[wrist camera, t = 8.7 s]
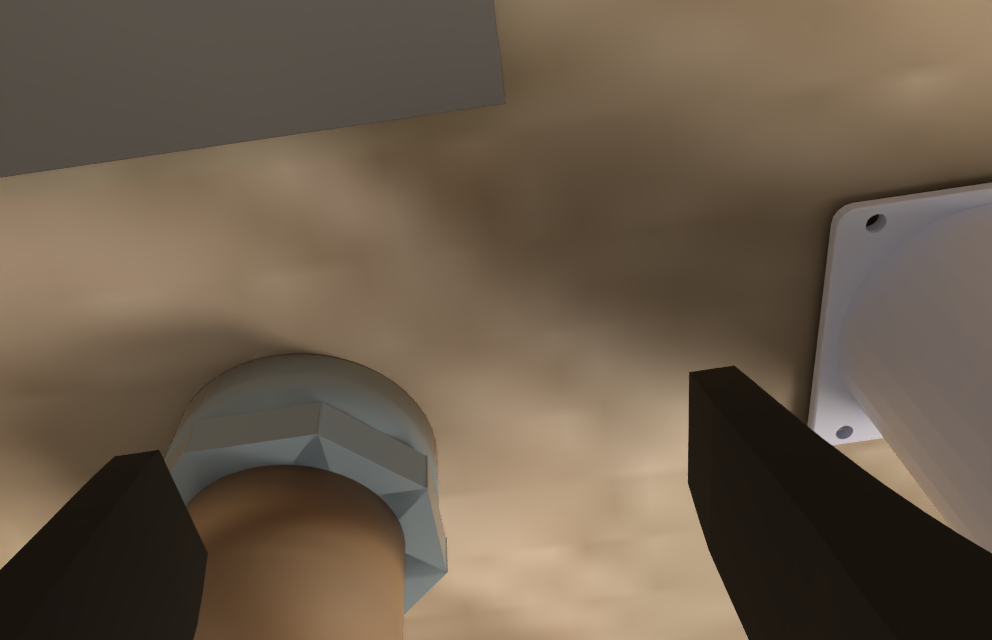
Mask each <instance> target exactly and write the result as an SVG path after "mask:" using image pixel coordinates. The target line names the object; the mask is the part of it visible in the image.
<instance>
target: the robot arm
mask: <svg viewBox="0 0 992 640" xmlns="http://www.w3.org/2000/svg"><path fill="white" fill-rule="evenodd" d="M876 214H879V217H878V219H877V221H876V222H875V223H874V224H872V225H870V226H866V223H867V221H868V219H870V218H871V217H872V216H874V215H876ZM843 426H846V427H844V428H843V429H841V430H839V431H837V430H838V429H840V428H841V427H843ZM879 438H884V439H885V440H886V441H887V443H888V444H889V445H890V447H891V448H892V449H893V451H894V452H895V453H896V455H897V456H898V457H899V459H900V460H901V462H902V463H903V464H904V466H905V467H906V468H907V470H908V471H909V472H910V474H911V475H912V476H913V478H914V479H915V480H916V482H917V483H918V484H919V486H920V487H921V488H922V490H923V491H924V492H925V494H926V495H927V496H928V498H929V499H930V500H931V502H932V503H933V504H934V506H935V507H936V508H937V510H938V511H939V512H940V514H941V515H942V516H943V518H944V519H945V520H946V522H947V523H948V524H949V526H950V527H951V528H952V529H950V528H949V527H947V526H946V525H944V524H942V523H941V522H939V521H938V520H936V519H934V518H933V517H931V516H930V515H928V514H927V513H925V512H924V511H922V510H921V509H919V508H918V507H916V506H915V505H913V504H912V503H911V502H909V501H908V500H906V499H905V498H903V497H902V496H900V495H899V494H897V493H896V492H894V491H893V490H892V489H890V488H889V487H887V486H886V485H884V484H883V483H881V482H880V481H879V480H877V479H876V478H875V477H873V476H872V475H870V474H869V473H868V472H866V471H865V470H864V469H862V468H861V467H860V466H858V465H857V464H856V463H854V462H853V461H852V460H850V459H849V458H848V457H847V456H845V455H844V454H843V453H841V452H840V451H839V450H837V449H836V448H835V447H833V446H832V445H838V444H845V443H852V442H859V441H865V440H872V439H879ZM688 485H689V488H690V491H691V495H692V498H693V501H694V504H695V508H696V511H697V514H698V518H699V521H700V524H701V527H702V530H703V533H704V536H705V540H706V543H707V546H708V549H709V551H710V554H711V556H712V558H713V561H714V563H715V565H716V567H717V570H718V572H719V574H720V576H721V579H722V581H723V583H724V585H725V588H726V590H727V592H728V594H729V597H730V599H731V601H732V603H733V606H734V608H735V610H736V612H737V614H738V617H739V619H740V621H741V623H742V625H743V628H744V630H745V632H746V634H747V637H748V639H749V640H992V183H985V184H978V185H971V186H964V187H958V188H951V189H944V190H937V191H930V192H923V193H917V194H910V195H903V196H896V197H889V198H883V199H876V200H869V201H862V202H855V203H851V204H848V205H845V206H843V207H842V208H841V209H839V210H838V211H837V212H836V214H835V215H834V216H833V219H832V222H831V229H830V238H829V246H828V255H827V263H826V272H825V280H824V289H823V297H822V306H821V314H820V323H819V332H818V340H817V349H816V357H815V366H814V374H813V383H812V391H811V400H810V408H809V417H808V425H806V424H804V423H803V422H802V421H801V420H799V419H798V418H797V417H796V416H795V415H793V414H792V413H791V412H790V411H788V410H787V409H786V408H785V407H784V406H782V405H781V404H780V403H779V402H778V401H776V400H775V399H774V398H773V397H772V396H770V395H769V394H768V393H767V392H766V391H764V390H763V389H762V388H761V387H760V386H758V385H757V384H756V383H755V382H754V381H753V380H751V379H750V378H749V377H748V376H746V375H745V374H744V373H743V372H741V371H740V370H739V369H738V368H736V367H735V366H729V367H722V368H715V369H709V370H702V371H695V372H689V442H688ZM207 557H208V552H207V550H206V548H205V546H204V544H203V542H202V540H201V538H200V535H199V533H198V531H197V529H196V527H195V525H194V523H193V521H192V518H191V516H190V514H189V512H188V510H187V508H186V506H185V504H184V501H183V499H182V497H181V495H180V493H179V491H178V489H177V487H176V484H175V482H174V480H173V478H172V476H171V474H170V472H169V470H168V467H167V465H166V463H165V461H164V459H163V457H162V455H161V453H160V450H156V451H149V452H142V453H136V454H129V455H122V456H115V457H114V458H113V459H111V460H110V461H109V462H108V463H107V464H106V465H105V466H104V467H103V468H102V469H101V470H99V471H98V472H97V473H96V474H95V475H94V476H93V477H92V478H91V479H90V480H89V481H88V482H87V483H86V484H85V485H84V486H83V487H82V488H81V489H80V490H79V491H78V492H77V493H76V494H75V495H74V496H73V497H72V498H71V499H70V500H69V501H68V502H67V503H66V504H65V505H64V506H63V507H62V508H61V509H60V510H59V511H58V512H57V513H56V514H55V515H54V516H53V517H52V518H51V519H50V521H49V522H48V523H47V524H46V525H45V526H44V527H43V528H42V529H41V530H40V531H39V532H38V533H37V534H36V535H35V536H34V537H33V538H32V539H31V540H30V541H29V542H28V543H27V544H26V545H25V546H24V547H23V548H22V549H21V550H20V551H19V552H18V553H17V554H16V555H15V556H14V557H13V558H12V559H11V560H10V561H9V562H8V563H7V564H6V565H5V566H4V567H3V568H2V569H1V570H0V640H193V639H194V635H195V632H196V628H197V624H198V618H199V612H200V606H201V600H202V594H203V587H204V580H205V572H206V565H207Z"/></svg>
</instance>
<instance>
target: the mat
mask: <svg viewBox="0 0 992 640" xmlns="http://www.w3.org/2000/svg"><path fill="white" fill-rule="evenodd" d="M498 104H505V95H504V86H503V78H502V69H501V61H500V52H499V44H498V35H497V27H496V18H495V10H494V1H493V0H0V177H7V176H14V175H21V174H28V173H34V172H41V171H48V170H55V169H62V168H69V167H75V166H82V165H89V164H96V163H103V162H109V161H116V160H123V159H130V158H137V157H144V156H150V155H157V154H164V153H171V152H178V151H184V150H191V149H198V148H205V147H212V146H219V145H225V144H232V143H239V142H246V141H253V140H259V139H266V138H273V137H280V136H287V135H294V134H300V133H307V132H314V131H321V130H328V129H334V128H341V127H348V126H355V125H362V124H369V123H375V122H382V121H389V120H396V119H403V118H410V117H416V116H423V115H430V114H437V113H444V112H450V111H457V110H464V109H471V108H478V107H485V106H491V105H498Z"/></svg>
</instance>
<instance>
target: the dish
mask: <svg viewBox="0 0 992 640" xmlns="http://www.w3.org/2000/svg"><path fill="white" fill-rule="evenodd" d="M164 461H165V463H166V465H167V467H168V470H169V472H170V474H171V476H172V478H173V480H174V482H175V484H176V487H177V489H178V491H179V493H180V495H181V497H182V499H183V501H184V504H185V506H187V504H188V503H189V502H190V501H191V500H192V499H193V497H194V496H195V495H196V494H197V493H199V492H200V491H201V490H203V489H204V488H205V487H206V486H208V485H210V484H211V483H213V482H215V481H217V480H218V479H220V478H223V477H225V476H227V475H230V474H232V473H235V472H239V471H242V470H245V469H249V468H255V467H261V466H270V465H300V466H309V467H315V468H320V469H324V470H328V471H332V472H335V473H338V474H341V475H344V476H346V477H348V478H350V479H353V480H355V481H357V482H359V483H360V484H362V485H364V486H366V487H367V488H369V489H370V490H372V491H373V492H374V493H376V494H377V495H378V496H379V497H380V498H382V499H383V500H384V501H385V502H386V503H387V504H388V505H389V507H390V508H391V509H392V511H393V512H394V513H395V515H396V517H397V518H398V520H399V522H400V524H401V527H402V530H403V533H404V538H405V584H404V614H405V613H406V612H407V611H408V610H409V609H410V608H411V607H412V606H413V605H414V604H415V603H416V602H417V601H418V600H419V599H420V598H421V597H423V596H424V595H425V594H426V593H427V592H428V591H429V590H430V589H431V588H432V587H433V586H434V585H435V584H436V583H437V582H438V581H439V580H440V579H441V578H442V577H443V576H444V575H445V574H446V573H447V572H448V568H447V538H446V537H445V532H444V528H443V523H442V519H441V515H440V510H439V504H438V460H437V447H436V440H435V437H434V433H433V430H432V427H431V425H430V423H429V421H428V419H427V417H426V416H425V414H424V413H423V411H422V410H421V408H420V407H419V406H418V404H417V403H416V402H415V401H414V400H413V399H412V398H411V397H410V396H409V395H408V394H407V393H406V392H405V391H404V390H403V389H401V388H400V387H399V386H398V385H397V384H395V383H394V382H392V381H391V380H389V379H388V378H386V377H384V376H383V375H381V374H379V373H377V372H375V371H373V370H371V369H369V368H367V367H364V366H361V365H359V364H356V363H353V362H350V361H347V360H342V359H338V358H334V357H328V356H320V355H312V354H289V355H278V356H271V357H266V358H262V359H257V360H254V361H251V362H248V363H245V364H241V365H239V366H237V367H235V368H233V369H230V370H228V371H226V372H224V373H223V374H221V375H220V376H218V377H217V378H215V379H213V380H212V381H211V382H209V383H208V384H207V385H206V386H205V387H204V388H203V389H201V390H200V391H199V392H198V394H197V395H196V396H195V397H194V398H193V399H192V401H191V402H190V403H189V405H188V407H187V408H186V410H185V412H184V414H183V416H182V418H181V421H180V423H179V426H178V428H177V431H176V433H175V435H174V438H173V440H172V443H171V445H170V448H169V450H168V453H167V455H166V458H165V460H164Z"/></svg>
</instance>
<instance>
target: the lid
mask: <svg viewBox="0 0 992 640" xmlns="http://www.w3.org/2000/svg"><path fill="white" fill-rule="evenodd" d="M186 508H187V510H188V512H189V514H190V516H191V518H192V521H193V523H194V525H195V527H196V529H197V531H198V533H199V535H200V538H201V540H202V542H203V544H204V546H205V548H206V550H207V552H208V557H207V565H206V572H205V580H204V587H203V594H202V600H201V606H200V612H199V618H198V624H197V628H196V632H195V635H194V639H193V640H403V625H404V584H405V538H404V533H403V530H402V527H401V524H400V522H399V520H398V518H397V517H396V515H395V513H394V512H393V511H392V509H391V508H390V507H389V505H388V504H387V503H386V502H385V501H384V500H383V499H382V498H380V497H379V496H378V495H377V494H376V493H374V492H373V491H372V490H370V489H369V488H367V487H366V486H364V485H362V484H360V483H359V482H357V481H355V480H353V479H350V478H348V477H346V476H344V475H341V474H338V473H335V472H332V471H328V470H324V469H320V468H315V467H309V466H300V465H270V466H261V467H255V468H249V469H245V470H242V471H239V472H235V473H232V474H230V475H227V476H225V477H223V478H220V479H218V480H217V481H215V482H213V483H211V484H210V485H208V486H206V487H205V488H204V489H203V490H201V491H200V492H199V493H197V494H196V495H195V496H194V497H193V499H192V500H191V501H190V502H189V503H188V504H187V506H186Z"/></svg>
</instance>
